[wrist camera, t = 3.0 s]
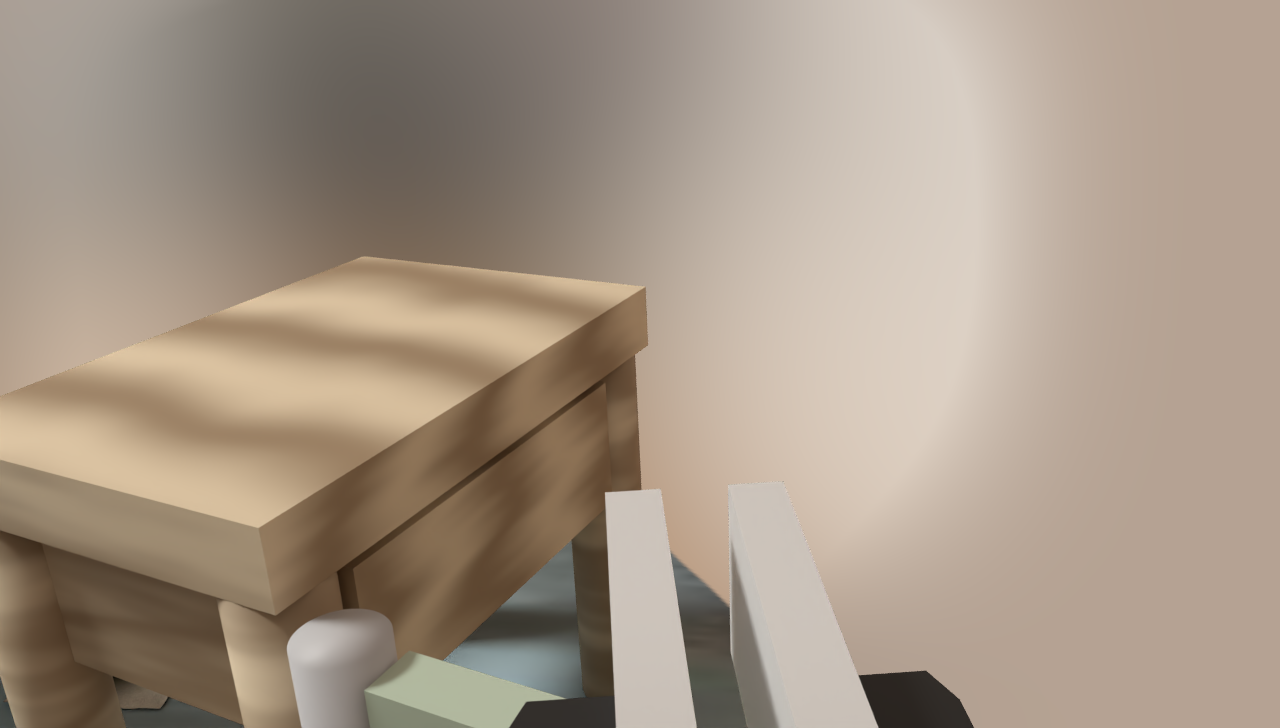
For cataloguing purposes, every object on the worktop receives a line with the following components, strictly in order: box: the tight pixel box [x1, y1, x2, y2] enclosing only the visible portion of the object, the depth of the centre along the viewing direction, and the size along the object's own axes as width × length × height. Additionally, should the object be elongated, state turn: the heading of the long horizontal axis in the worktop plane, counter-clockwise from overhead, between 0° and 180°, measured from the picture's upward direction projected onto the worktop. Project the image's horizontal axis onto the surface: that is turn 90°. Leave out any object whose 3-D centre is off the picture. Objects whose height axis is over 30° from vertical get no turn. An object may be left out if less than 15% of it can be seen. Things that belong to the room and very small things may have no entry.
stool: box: [0, 256, 648, 728], centre depth 39 cm, size 20×14×18 cm
